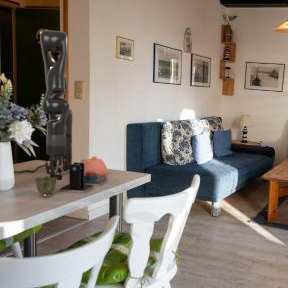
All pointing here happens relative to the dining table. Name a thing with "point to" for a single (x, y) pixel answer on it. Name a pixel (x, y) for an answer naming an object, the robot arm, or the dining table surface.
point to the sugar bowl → (95, 166)
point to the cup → (45, 185)
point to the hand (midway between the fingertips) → (56, 181)
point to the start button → (90, 173)
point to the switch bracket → (76, 178)
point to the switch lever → (64, 172)
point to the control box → (94, 179)
